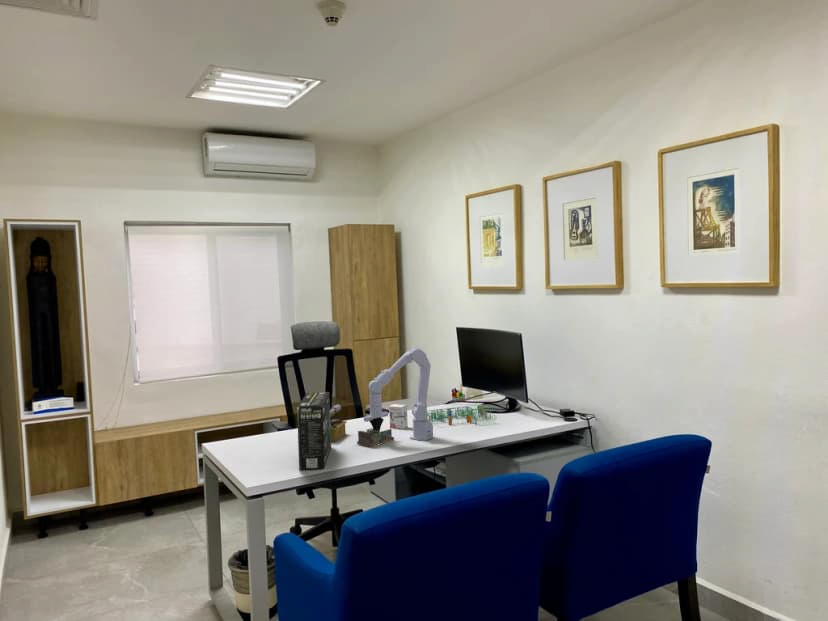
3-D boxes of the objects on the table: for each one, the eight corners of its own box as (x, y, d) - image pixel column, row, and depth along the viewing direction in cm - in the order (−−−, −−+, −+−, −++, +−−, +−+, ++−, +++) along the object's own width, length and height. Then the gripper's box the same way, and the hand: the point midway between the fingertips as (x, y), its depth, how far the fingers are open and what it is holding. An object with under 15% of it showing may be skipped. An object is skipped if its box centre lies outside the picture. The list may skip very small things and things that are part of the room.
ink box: (389, 428, 322) (388, 405, 322) (394, 425, 327) (393, 403, 326) (403, 429, 318) (402, 406, 318) (408, 427, 323) (407, 404, 322)
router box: (325, 469, 254) (322, 405, 252) (298, 471, 253) (295, 406, 252) (332, 446, 289) (329, 390, 288) (308, 447, 289) (306, 391, 287)
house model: (477, 412, 354) (477, 404, 353) (502, 423, 326) (502, 414, 326) (421, 419, 342) (420, 411, 341) (441, 430, 314) (441, 421, 314)
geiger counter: (347, 433, 315) (346, 404, 314) (331, 446, 289) (329, 415, 289) (331, 433, 316) (329, 404, 316) (313, 446, 291) (311, 415, 290)
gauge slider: (371, 436, 296) (371, 428, 296) (381, 438, 291) (381, 430, 291) (366, 437, 293) (366, 429, 293) (377, 440, 289) (377, 431, 288)
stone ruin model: (380, 437, 303) (380, 424, 303) (394, 439, 297) (393, 426, 297) (357, 444, 291) (356, 430, 291) (370, 447, 285) (369, 433, 285)
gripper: (380, 402, 302) (381, 429, 303) (359, 407, 292) (360, 435, 292) (390, 403, 298) (391, 431, 298) (369, 409, 287) (370, 437, 288)
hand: (376, 433), depth 295 cm, fingers closed
